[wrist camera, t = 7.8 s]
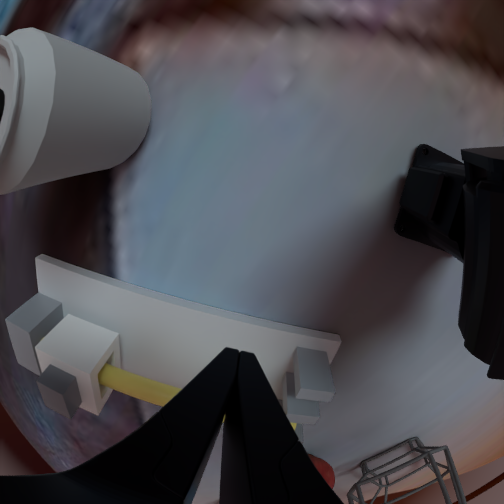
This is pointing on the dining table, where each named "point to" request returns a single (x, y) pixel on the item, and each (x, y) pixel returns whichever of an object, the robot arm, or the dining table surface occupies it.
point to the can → (64, 110)
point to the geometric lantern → (425, 455)
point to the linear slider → (174, 339)
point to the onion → (324, 470)
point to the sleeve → (76, 365)
